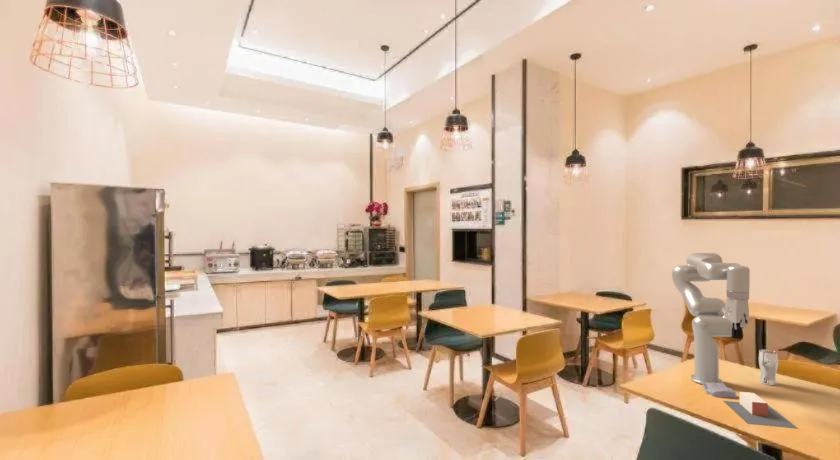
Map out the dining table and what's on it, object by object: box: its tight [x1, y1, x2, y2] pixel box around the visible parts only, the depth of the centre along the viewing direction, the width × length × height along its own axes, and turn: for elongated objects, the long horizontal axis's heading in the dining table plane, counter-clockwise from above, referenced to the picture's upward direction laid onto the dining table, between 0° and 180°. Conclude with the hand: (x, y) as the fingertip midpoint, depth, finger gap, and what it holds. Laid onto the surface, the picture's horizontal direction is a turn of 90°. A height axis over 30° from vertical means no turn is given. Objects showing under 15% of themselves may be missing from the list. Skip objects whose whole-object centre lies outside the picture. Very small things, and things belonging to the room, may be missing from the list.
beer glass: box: [758, 349, 779, 386], centre depth 189 cm, size 7×7×15 cm
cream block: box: [739, 391, 768, 416], centre depth 162 cm, size 5×5×10 cm
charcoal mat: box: [722, 400, 799, 430], centre depth 159 cm, size 20×16×1 cm
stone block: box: [701, 382, 737, 399], centre depth 179 cm, size 12×5×10 cm
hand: (736, 337), depth 168 cm, fingers closed
